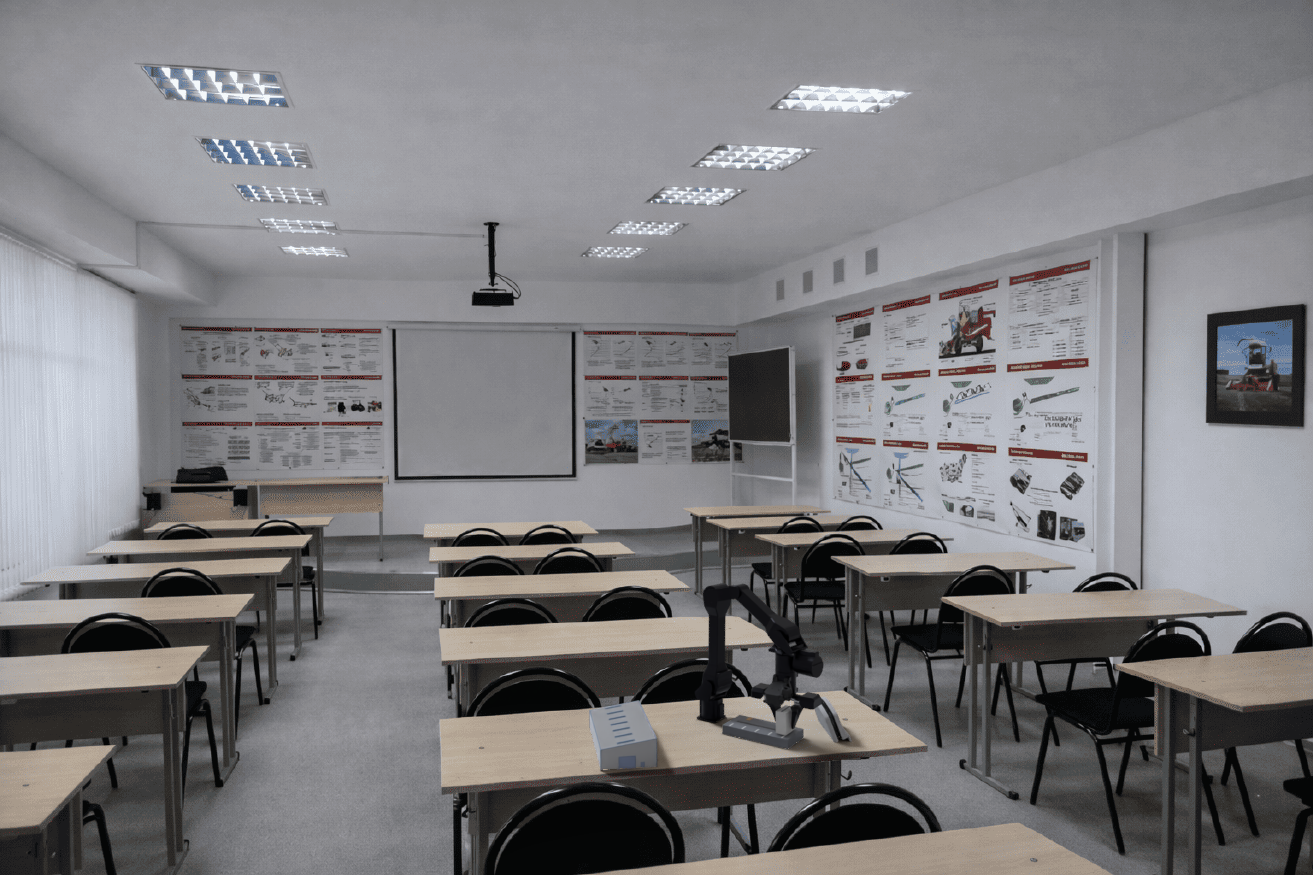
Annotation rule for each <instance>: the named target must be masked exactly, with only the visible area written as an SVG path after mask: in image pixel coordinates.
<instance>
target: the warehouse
mask: <svg viewBox="0 0 1313 875" xmlns="http://www.w3.org/2000/svg"><path fill="white" fill-rule="evenodd" d="M588 711H589V712H588V714H589V716H588V718H589V719H588V720H589V726H588V727H589V728H590V729H589V730H590V734H592V735H591V739H592V738H593V739H592V742H594V743H593V746H594V750H596V751H595V753H596V754H597V755H596V754H595V755H596V758H597V762H598V761H599V762H598V765H599V768H600V770H603V769H609V770H608V771H611V770H610V769H617V770H621V769H620V768H623V769H622V770H624V769H625V768H627V769H637V768H636V767H642V768H644V767H645V768H656V767H658V738H657V735H656V733H655V731H654V730H653V727H652V724H651V722H650V721H649V718H648V716H647V714H646V712H645V710H644V708H643V706H642V704H641V702H640V700H634V701H627V702H623V703H619V704H613V705H609V706H602V707H599V708H593V709H589V710H588ZM603 771H604V770H603Z"/></svg>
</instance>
